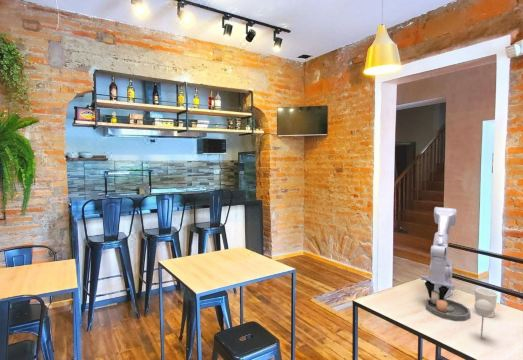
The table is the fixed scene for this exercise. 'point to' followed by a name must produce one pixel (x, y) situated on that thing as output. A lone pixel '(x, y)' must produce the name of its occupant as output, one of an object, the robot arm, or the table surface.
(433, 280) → the robot arm
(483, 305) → the lollipop
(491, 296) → the white cup
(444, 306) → the bead terracotta
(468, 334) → the table surface
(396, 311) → the table surface
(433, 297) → the bead cream
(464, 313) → the groove tray
